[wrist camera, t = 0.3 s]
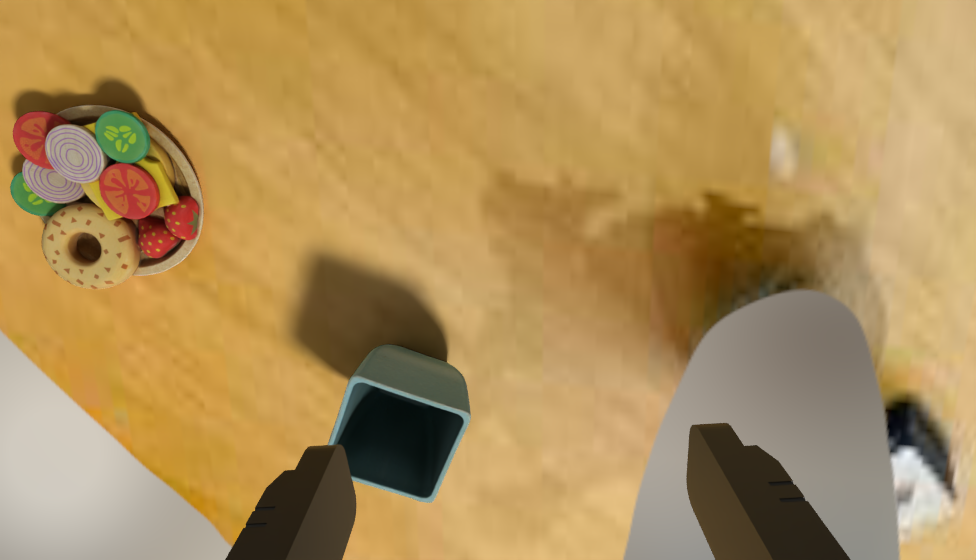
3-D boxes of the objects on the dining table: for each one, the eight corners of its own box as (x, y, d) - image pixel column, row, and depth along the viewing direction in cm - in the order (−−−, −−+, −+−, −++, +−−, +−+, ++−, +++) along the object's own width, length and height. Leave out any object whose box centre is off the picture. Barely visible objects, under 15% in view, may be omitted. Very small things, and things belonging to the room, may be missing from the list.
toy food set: (93, 287, 42) (61, 303, 39) (-1, 128, 38) (-45, 132, 35) (238, 249, 41) (217, 262, 38) (159, 77, 36) (128, 77, 33)
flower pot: (478, 351, 43) (473, 415, 35) (444, 430, 46) (432, 506, 38) (380, 316, 42) (350, 374, 34) (351, 399, 45) (318, 471, 37)
